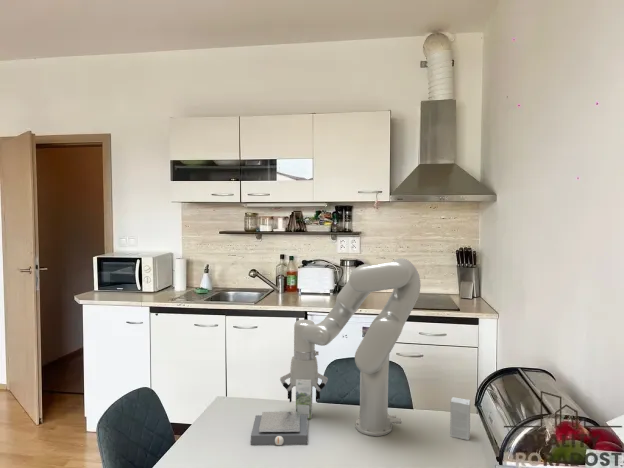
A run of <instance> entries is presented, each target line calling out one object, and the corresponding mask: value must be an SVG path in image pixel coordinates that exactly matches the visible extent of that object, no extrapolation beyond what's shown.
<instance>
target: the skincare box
mask: <svg viewBox="0 0 624 468" xmlns="http://www.w3.org/2000/svg"><path fill="white" fill-rule="evenodd" d="M449 426H450V432H449V433H450V434H449V436H450V437H451V438H456V439H462V440H466V441H469V440H470V437H471V399H466V398H460V397H456V396H455V397H454V396H452V397H451V399H450V425H449Z"/></svg>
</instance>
